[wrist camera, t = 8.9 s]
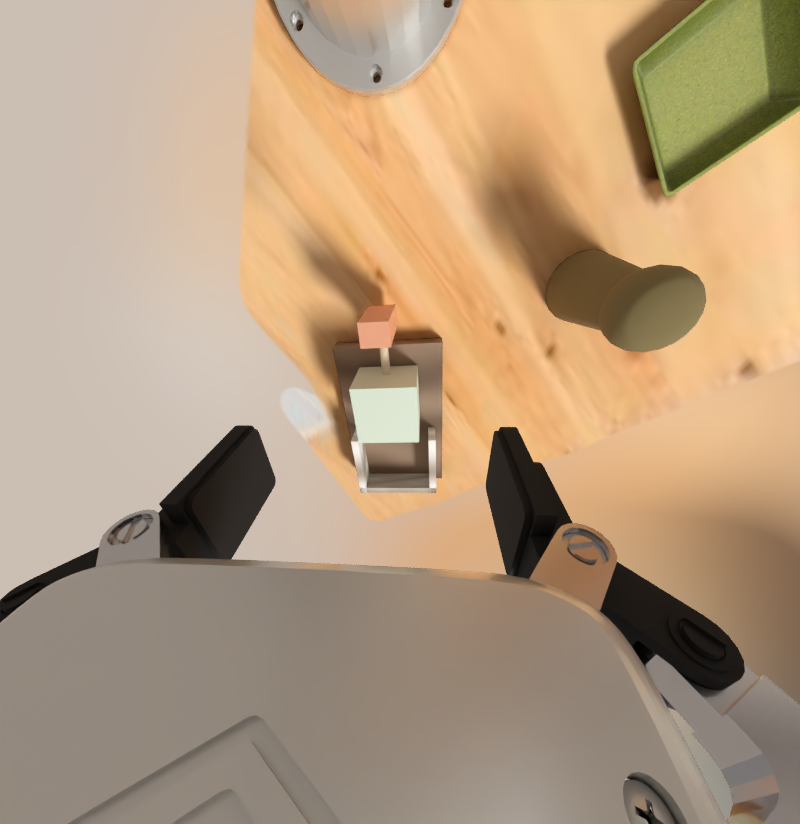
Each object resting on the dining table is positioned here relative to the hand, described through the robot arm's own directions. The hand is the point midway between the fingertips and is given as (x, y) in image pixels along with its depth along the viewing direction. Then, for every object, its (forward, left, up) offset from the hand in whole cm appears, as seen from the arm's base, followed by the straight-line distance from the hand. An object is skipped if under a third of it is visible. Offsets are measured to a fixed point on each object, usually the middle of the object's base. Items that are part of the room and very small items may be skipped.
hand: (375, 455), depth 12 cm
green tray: (-14, +21, -21) cm, 33 cm away
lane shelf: (+11, -2, -20) cm, 23 cm away
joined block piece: (+4, -2, -19) cm, 19 cm away
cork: (-2, +16, -21) cm, 26 cm away
